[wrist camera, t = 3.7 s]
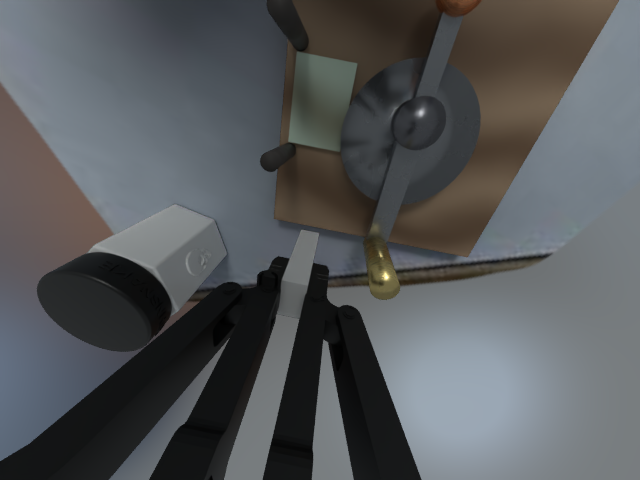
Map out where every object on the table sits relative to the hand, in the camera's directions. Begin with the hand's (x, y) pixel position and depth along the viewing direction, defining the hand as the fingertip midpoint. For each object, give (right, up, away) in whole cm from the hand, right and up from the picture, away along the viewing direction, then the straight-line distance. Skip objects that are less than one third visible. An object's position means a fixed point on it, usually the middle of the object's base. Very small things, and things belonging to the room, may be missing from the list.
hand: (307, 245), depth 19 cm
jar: (-14, +1, +8) cm, 16 cm away
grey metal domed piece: (+8, +8, -1) cm, 11 cm away
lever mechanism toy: (+8, +10, +1) cm, 13 cm away
